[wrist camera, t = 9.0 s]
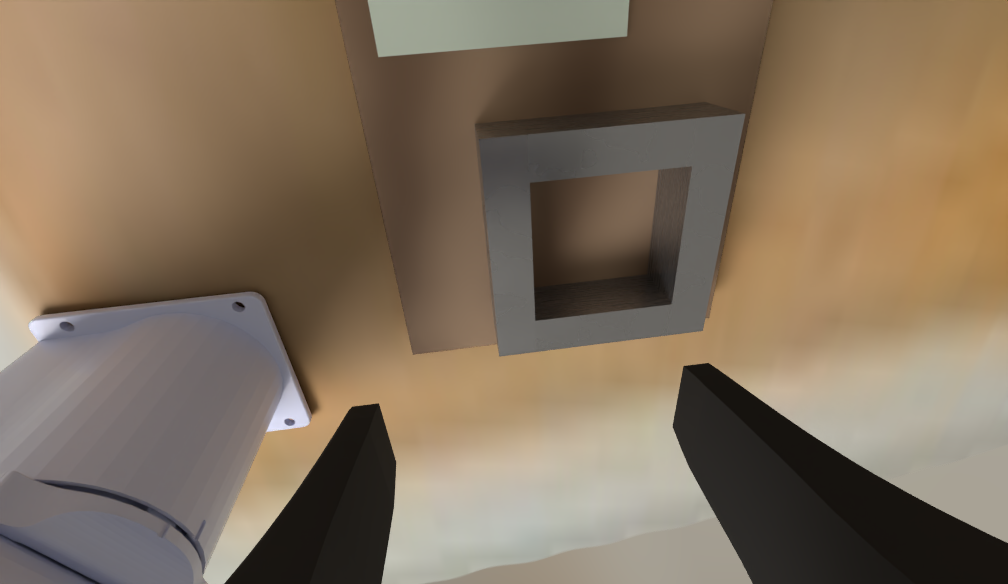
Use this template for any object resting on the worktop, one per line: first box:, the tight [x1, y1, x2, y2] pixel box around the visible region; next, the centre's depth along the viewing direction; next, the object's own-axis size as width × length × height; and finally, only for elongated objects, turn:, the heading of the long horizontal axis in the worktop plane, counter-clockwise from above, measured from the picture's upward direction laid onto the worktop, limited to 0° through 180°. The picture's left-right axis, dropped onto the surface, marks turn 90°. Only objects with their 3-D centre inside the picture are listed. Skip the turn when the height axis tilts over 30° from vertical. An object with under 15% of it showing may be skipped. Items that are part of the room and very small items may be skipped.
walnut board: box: [335, 0, 773, 355], centre depth 16 cm, size 14×21×2 cm, turn 4°
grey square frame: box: [474, 102, 745, 356], centre depth 17 cm, size 8×8×2 cm
